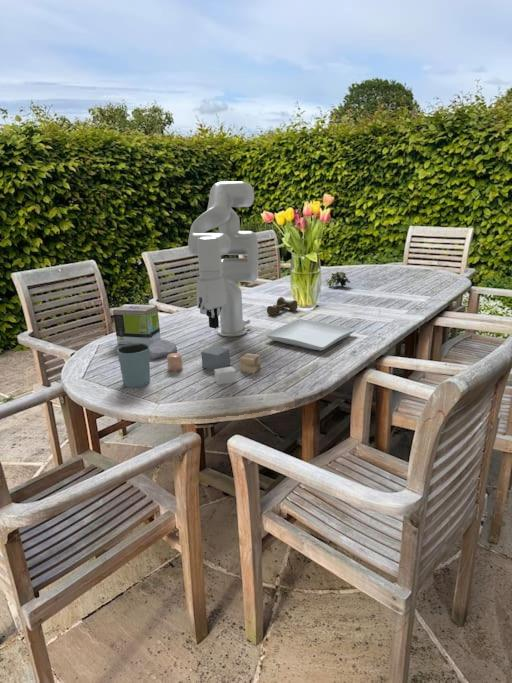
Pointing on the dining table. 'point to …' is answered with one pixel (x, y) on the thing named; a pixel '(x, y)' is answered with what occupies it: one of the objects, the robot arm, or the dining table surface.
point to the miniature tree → (338, 279)
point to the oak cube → (250, 363)
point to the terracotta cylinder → (174, 362)
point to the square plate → (309, 334)
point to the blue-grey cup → (134, 364)
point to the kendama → (282, 306)
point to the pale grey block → (225, 375)
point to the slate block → (215, 358)
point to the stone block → (161, 349)
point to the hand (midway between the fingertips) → (214, 327)
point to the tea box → (136, 324)
